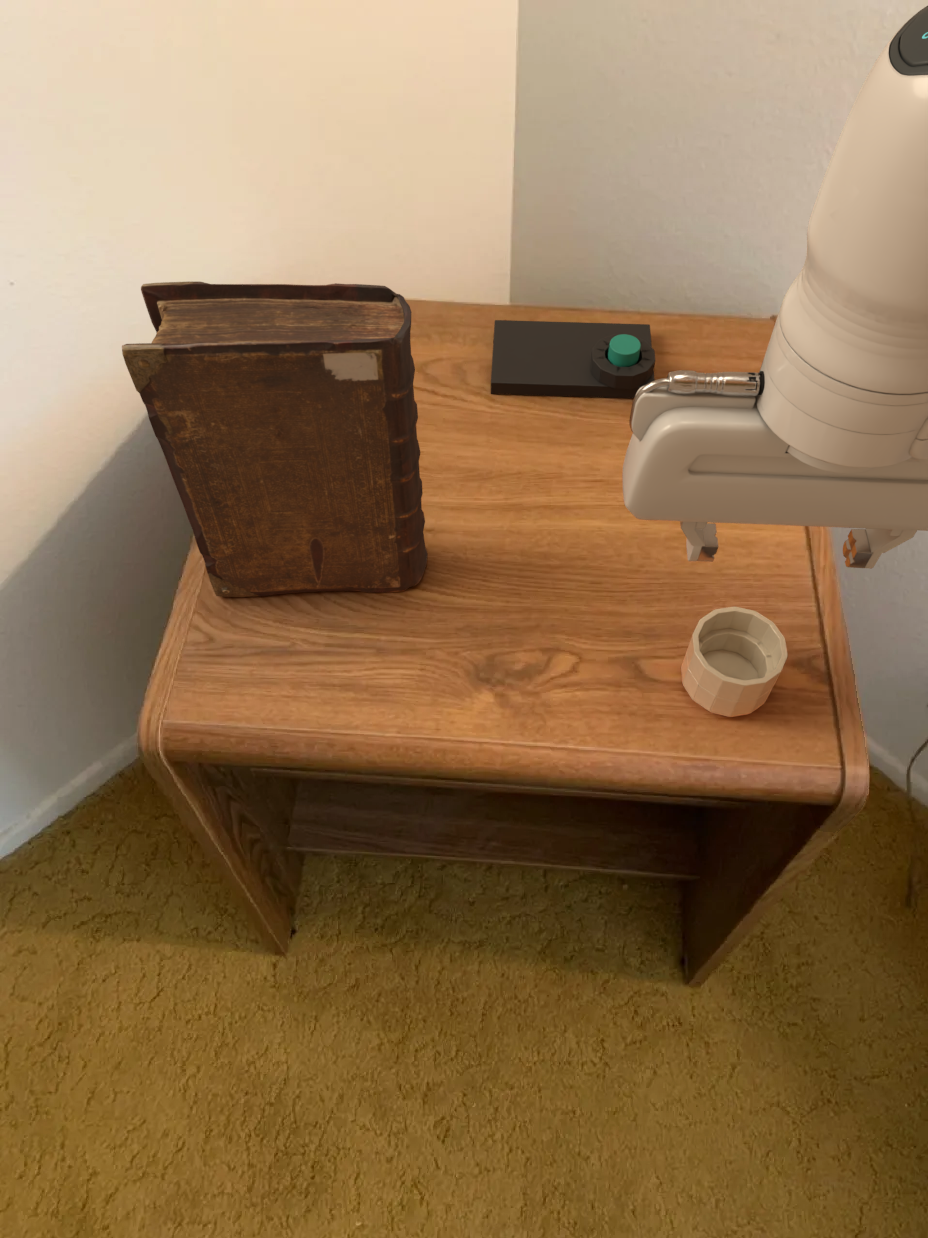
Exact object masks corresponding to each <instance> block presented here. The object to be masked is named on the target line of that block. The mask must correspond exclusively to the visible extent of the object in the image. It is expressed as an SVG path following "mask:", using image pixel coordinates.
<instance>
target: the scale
mask: <svg viewBox="0 0 928 1238" xmlns="http://www.w3.org/2000/svg"><path fill="white" fill-rule="evenodd" d="M493 324H494V325H493V339H492V340H493V344H492V355H491V356H492V359H491V375H490V394H491V395H509V396H510V395H512V396H513V395H515V396H541V397H543V396H545V397H575V398H603V399H604V398H605V399H607V398H608V399H634V398H635V395H636V393H637V391H638V390H639V389H640V387H642V386H645V385H647V384H648V383H650V382H652V381H655V380H656V379H655V365H656V353H655V352H656V351H655V349H654V348H653V347H652V346H653V345H652V334H651V324H648V323H647V324H645V323H617V322H616V323H613V322H611V323H610V322H582V321H581V322H577V321H545V320H543V321H540V320H508V319H507V320H506V319H495V320H494V323H493ZM621 334H627V335H631V336H634V337H636V338H637V339H638V340H639V341H640V344H641V348H640V353H639V359H638V361H637V363H636V364H635V365H633V366H631V367H618V366H616V365H613V364H612V363H611V362H610V361H609V359H608V351H609V344H610V341H611V339H612V338H613V337H615V336H617V335H621Z"/></svg>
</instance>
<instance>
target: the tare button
mask: <svg viewBox="0 0 928 1238" xmlns="http://www.w3.org/2000/svg"><path fill="white" fill-rule="evenodd" d="M640 348H641V344H640V341H639V340H638V339H637V338H636V337H634V336H631V335H627V334H621V335H617V336H615V337H613V338H612V339H611V341H610V344H609V351H608V359H609V361H610V362H611V363H612V364H613V365H616V366H618V367H631V366H633V365H635V364H636V363H637V361H638V359H639V353H640Z"/></svg>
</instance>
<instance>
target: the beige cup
mask: <svg viewBox="0 0 928 1238" xmlns="http://www.w3.org/2000/svg"><path fill="white" fill-rule="evenodd" d="M786 642H787V641H786V638H785V636H784V635H783V633H782V632H781V631H780V628H778V626H777V625H776V624H775V622H774V621H772V620H771V619H770V618H768V617H766V616H764V615H762V614H761V613H759V612H758V611H756V610H754V609H749V608H745V607H741V606H736V605H735V606H727V607H721V608H715V609H713V610H712V611H710V612H708V613H707V614H706V615H704V616H703V617H701V618H700V619H699V620H698V622H697V624H696V626H695V628H694V630H693V632H692V634H691V637H690V640H689V643H688V645H687V649H686V651H685V655H684V657H683V660H682V663H681V667H680V671H681V682H682V686H683V687H684V689H685V691H686V692H687V694H688V696H689V697H690V699H691V700H692V701H693V702H695V703H696V704H697V705H699V706H701V708H703V709H705V710H706V711H707V712H709V713H711V714H716V715H719V716H723V717H727V718H733V717H739V716H746V715H750V714H752V713H754V712H755V711H756V710H758V709H759V708H760V707H762V706H763V705H764V704H765V703H766V701H767V700H768V698H769V696H770V694H771V692H772V690H773V689H774V686H775V685H776V683H777V681H778V679H779V677H780V675H781V674H782V671H783V669H784V666H785V664H786V662H787V659H788V656H789V654H788V648H787V643H786Z"/></svg>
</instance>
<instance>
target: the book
mask: <svg viewBox="0 0 928 1238" xmlns="http://www.w3.org/2000/svg"><path fill="white" fill-rule="evenodd" d="M140 291H141V295H142V298H143V302H144V304H145V308H146V311H147V313H148V315H149V318H150V321H151V324H152V327H153V328H154V330H155V333H156V334H155V336H154V337H153V339H152V341H151V342H149V343H147V342H146V343H145V342H144V343H142V342H141V343H140V342H139V343H125V344H122V345H121V354H122V357H123V360H124V363H125V364H124V365H125V366H126V369H127V371H128V374H129V376H130V379H131V380H132V383H133V386H134V387H135V390H136V392H137V393H138V394H139V396H140V398H141V401H142V403H143V405H144V406H145V409H146V412H147V416H148V420H149V424H150V425H151V428H152V431H153V433H154V436H155V437H156V439H157V441H158V444H159V445H160V448H161V451H162V453H163V455H164V459H165V461H166V463H167V466H168V470H169V472H170V475H171V477H172V480H173V483H174V484H175V487H176V491H177V493H178V495H179V498H180V500H181V502H182V505H183V509H184V511H185V513H186V517H187V519H188V522H189V525H190V527H191V529H192V533H193V536H194V540H195V542H196V545H197V548H198V551H199V553H200V555H201V556H202V558H203V561H204V565H205V570H206V573H207V576H208V579H209V582H210V585H211V587H212V590H213V592H214V595H215V597H223V598H224V597H225V598H226V597H227V598H229V597H230V598H231V597H232V598H245V597H247V598H248V597H263V596H265V597H266V596H267V597H269V596H271V595H283V594H295V593H296V594H297V593H312V592H361V593H398V592H406V591H407V590H408V589H409V588H411V587H415V586H417V585H418V584H419V583H420V582H421V580H422V578H423V576H424V574H425V570H426V568H427V563H428V554H429V553H428V550H427V548H426V547H427V546H426V541H425V536H424V535H425V534H424V529H425V524H426V518H425V513H424V511H423V507H422V497H423V494H424V493H423V480H422V478H421V477H420V476H421V473H420V472H421V471H420V457H421V453H422V452H421V447H420V444H419V440H418V431H417V424H418V419H419V411H418V403H417V401H416V400H415V389H414V388H415V387H414V380H415V373H416V367H415V362H414V358H413V355H412V346H411V344H412V343H411V329H412V309H411V306H410V304H409V303H408V302H407V300H406V299H405V297H404V296H403V295H402V294H400V293H396V292H395V291H394V290H392V289H391V288H389V287H388V286H386V285H380V284H363V283H362V284H361V283H329V284H293V283H291V284H290V283H289V284H288V283H244V284H243V283H208V282H204V281H167V282H166V281H165V282H164V281H163V282H151V283H143V284H142V285H141V286H140Z"/></svg>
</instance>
